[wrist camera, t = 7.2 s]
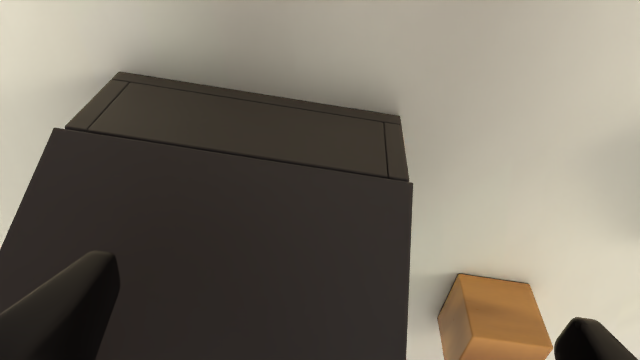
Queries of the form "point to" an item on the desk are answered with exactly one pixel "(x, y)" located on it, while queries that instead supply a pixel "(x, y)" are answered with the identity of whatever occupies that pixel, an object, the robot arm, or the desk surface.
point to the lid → (219, 251)
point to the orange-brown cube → (492, 321)
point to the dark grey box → (246, 125)
